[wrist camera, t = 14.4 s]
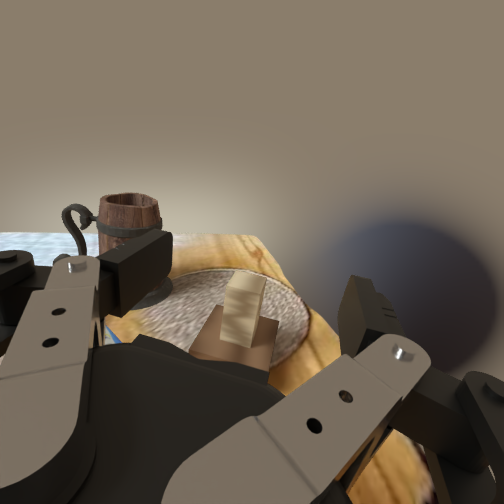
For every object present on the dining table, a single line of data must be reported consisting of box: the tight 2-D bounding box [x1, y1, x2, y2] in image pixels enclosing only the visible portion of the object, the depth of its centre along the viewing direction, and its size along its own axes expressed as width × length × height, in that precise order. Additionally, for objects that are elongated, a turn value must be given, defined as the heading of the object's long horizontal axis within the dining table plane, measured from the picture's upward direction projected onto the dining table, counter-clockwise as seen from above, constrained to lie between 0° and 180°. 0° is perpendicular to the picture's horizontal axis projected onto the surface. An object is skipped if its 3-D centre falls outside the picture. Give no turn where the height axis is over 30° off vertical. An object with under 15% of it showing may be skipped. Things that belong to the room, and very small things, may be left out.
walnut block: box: [189, 304, 279, 371], centre depth 46 cm, size 12×12×5 cm
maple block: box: [220, 270, 267, 348], centre depth 43 cm, size 5×5×10 cm
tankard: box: [53, 193, 173, 310], centre depth 56 cm, size 24×17×20 cm
